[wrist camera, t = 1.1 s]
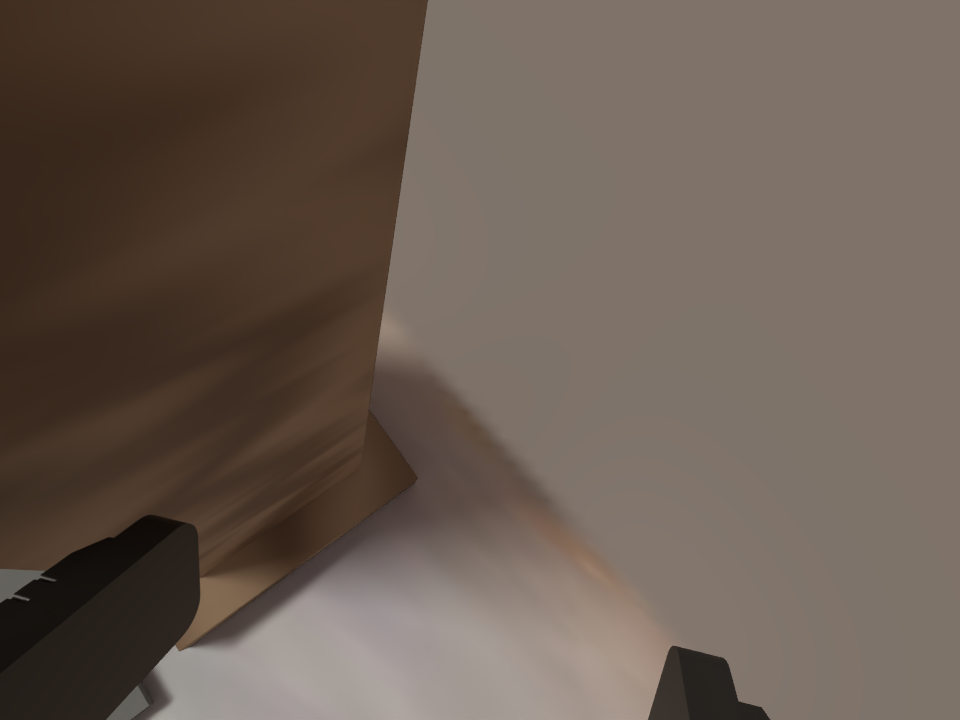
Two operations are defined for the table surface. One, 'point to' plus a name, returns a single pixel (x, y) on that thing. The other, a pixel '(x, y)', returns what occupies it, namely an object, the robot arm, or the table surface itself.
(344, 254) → the walnut stand
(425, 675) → the table surface
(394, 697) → the table surface
